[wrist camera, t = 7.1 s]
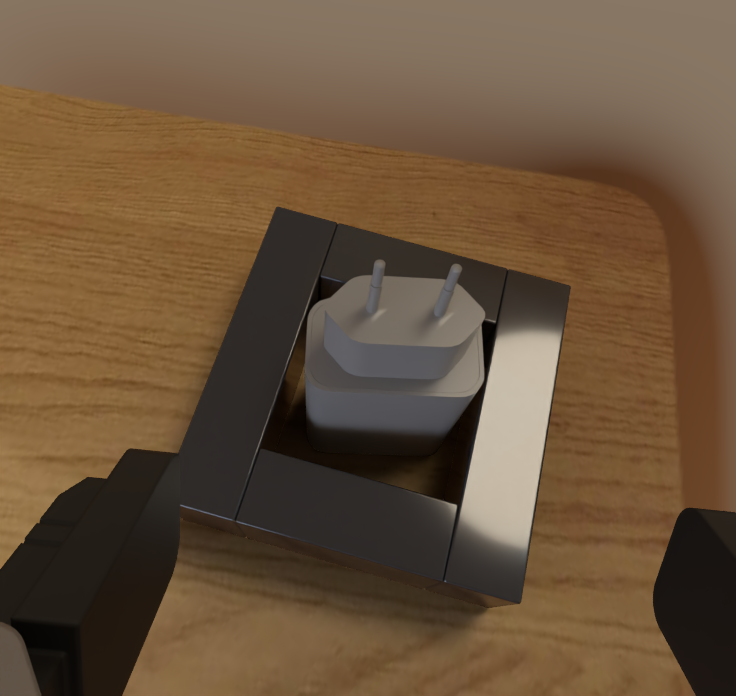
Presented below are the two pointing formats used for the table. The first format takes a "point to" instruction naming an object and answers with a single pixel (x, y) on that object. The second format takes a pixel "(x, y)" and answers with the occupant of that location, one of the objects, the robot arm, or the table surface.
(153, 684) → the table surface
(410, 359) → the power adapter
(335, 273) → the block
